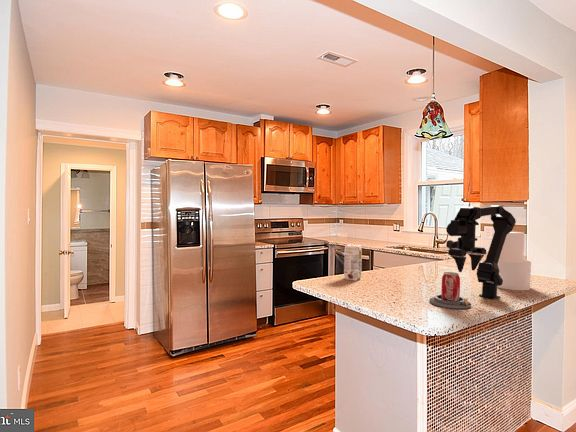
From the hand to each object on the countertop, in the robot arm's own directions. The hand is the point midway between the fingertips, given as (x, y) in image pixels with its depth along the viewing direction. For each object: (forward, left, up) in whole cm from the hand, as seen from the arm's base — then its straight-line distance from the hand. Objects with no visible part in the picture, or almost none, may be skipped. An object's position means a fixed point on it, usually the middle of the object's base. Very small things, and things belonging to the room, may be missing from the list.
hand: (466, 271), depth 156 cm
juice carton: (+16, -57, -13) cm, 61 cm away
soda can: (+11, 0, -12) cm, 16 cm away
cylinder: (-48, -7, -13) cm, 50 cm away
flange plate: (+11, 0, -13) cm, 17 cm away
